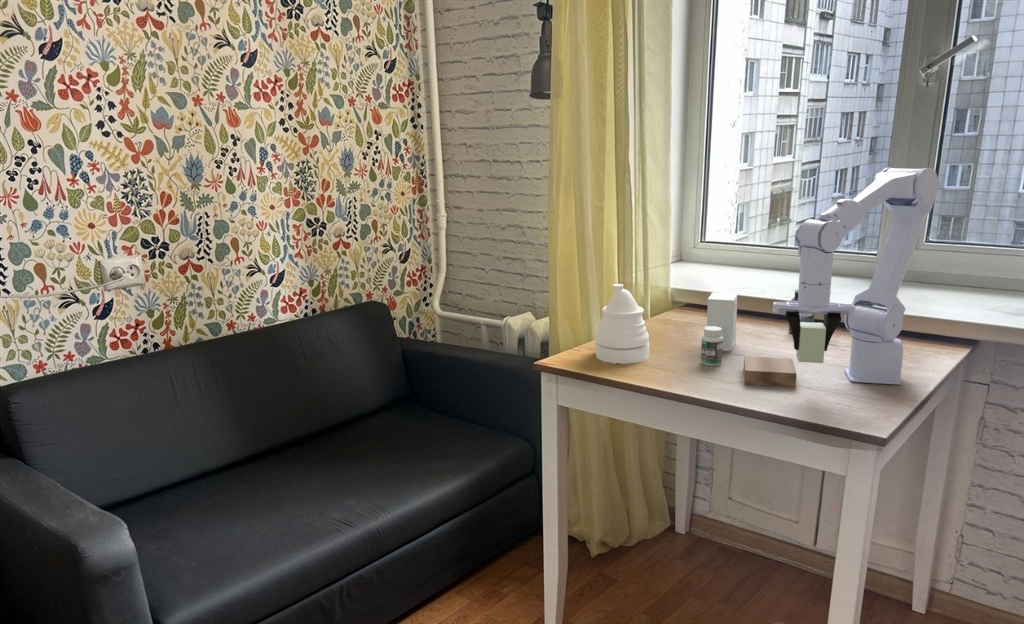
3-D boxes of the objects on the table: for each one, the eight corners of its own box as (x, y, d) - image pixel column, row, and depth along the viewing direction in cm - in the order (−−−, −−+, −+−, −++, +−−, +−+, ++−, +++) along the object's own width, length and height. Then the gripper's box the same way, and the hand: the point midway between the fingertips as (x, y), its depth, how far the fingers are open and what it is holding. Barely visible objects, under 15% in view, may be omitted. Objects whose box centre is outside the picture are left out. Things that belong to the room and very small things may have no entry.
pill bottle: (696, 362, 157) (697, 327, 155) (709, 358, 159) (711, 324, 157) (713, 367, 153) (714, 332, 151) (726, 363, 155) (727, 328, 153)
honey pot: (631, 367, 155) (632, 291, 151) (585, 357, 163) (584, 285, 159) (658, 353, 165) (659, 281, 160) (613, 345, 173) (613, 276, 169)
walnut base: (791, 371, 148) (792, 358, 147) (795, 387, 139) (796, 373, 138) (743, 368, 151) (744, 356, 150) (744, 383, 142) (745, 370, 141)
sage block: (820, 356, 135) (822, 322, 134) (823, 363, 131) (826, 328, 130) (796, 355, 137) (798, 321, 135) (798, 361, 133) (800, 327, 131)
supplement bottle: (785, 329, 180) (788, 288, 178) (809, 329, 180) (812, 288, 177) (791, 335, 175) (794, 293, 172) (815, 336, 174) (818, 293, 171)
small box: (710, 340, 173) (712, 291, 170) (736, 343, 171) (738, 293, 167) (705, 349, 166) (707, 298, 163) (732, 352, 163) (734, 300, 160)
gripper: (776, 285, 129) (772, 353, 132) (860, 287, 125) (853, 356, 128) (773, 278, 135) (770, 342, 139) (853, 279, 131) (847, 346, 134)
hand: (810, 349), depth 134 cm, fingers closed on sage block, 4 cm apart
